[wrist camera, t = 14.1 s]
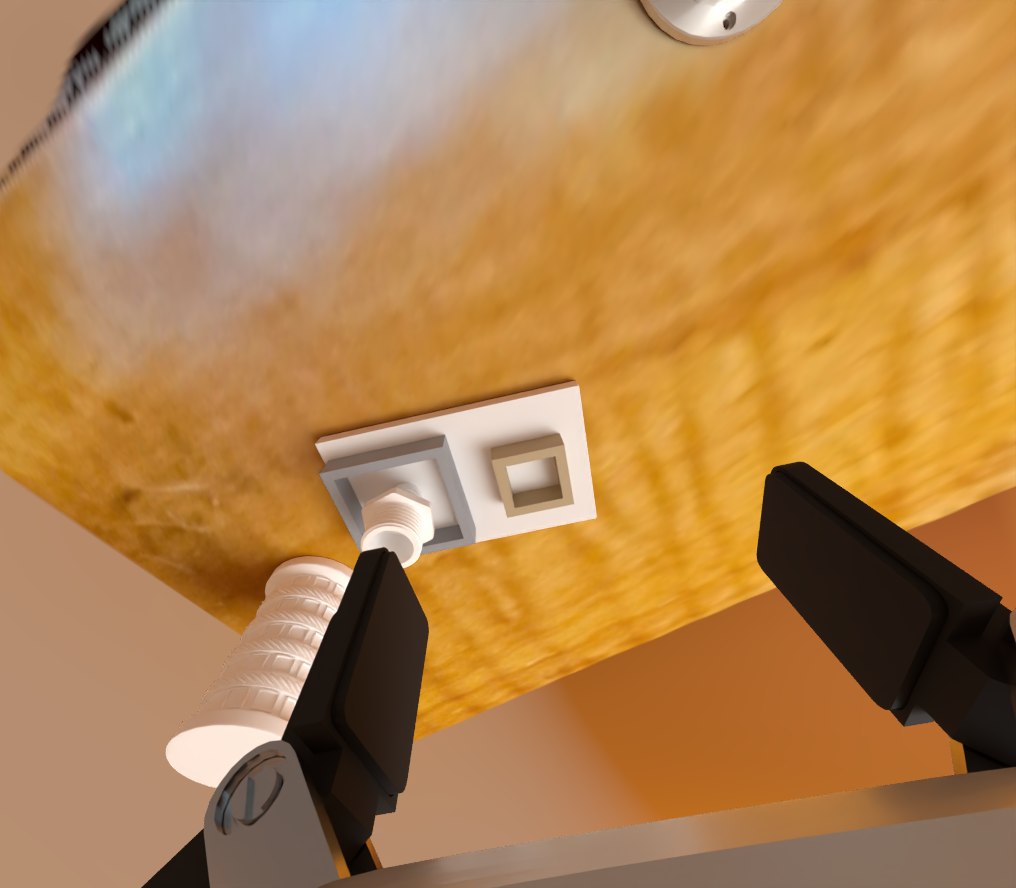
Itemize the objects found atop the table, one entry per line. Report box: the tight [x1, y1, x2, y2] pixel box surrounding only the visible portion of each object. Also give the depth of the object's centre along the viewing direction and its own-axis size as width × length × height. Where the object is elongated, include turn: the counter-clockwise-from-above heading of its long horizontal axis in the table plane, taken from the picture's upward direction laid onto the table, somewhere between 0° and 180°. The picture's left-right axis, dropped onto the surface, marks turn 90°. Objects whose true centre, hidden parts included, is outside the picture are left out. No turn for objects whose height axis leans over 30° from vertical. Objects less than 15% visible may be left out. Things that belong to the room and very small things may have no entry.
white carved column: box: [166, 556, 353, 788], centre depth 40 cm, size 12×12×18 cm
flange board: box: [315, 380, 597, 555], centre depth 40 cm, size 16×26×4 cm, turn 102°
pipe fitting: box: [361, 483, 434, 568], centre depth 37 cm, size 6×7×8 cm
